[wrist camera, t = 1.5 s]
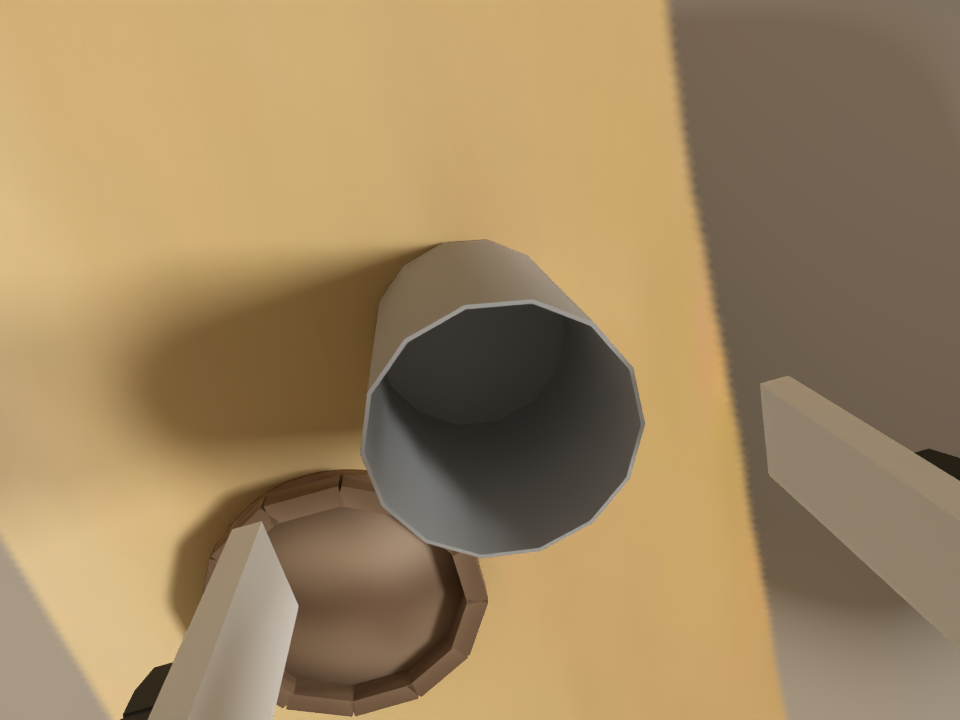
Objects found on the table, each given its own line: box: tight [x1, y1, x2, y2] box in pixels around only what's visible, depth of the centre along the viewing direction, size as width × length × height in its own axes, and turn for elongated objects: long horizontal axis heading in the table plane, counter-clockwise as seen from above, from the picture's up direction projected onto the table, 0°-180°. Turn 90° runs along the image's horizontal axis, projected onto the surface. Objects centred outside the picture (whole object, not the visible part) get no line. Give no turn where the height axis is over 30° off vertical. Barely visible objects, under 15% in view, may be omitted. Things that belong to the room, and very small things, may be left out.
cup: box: [360, 239, 645, 558], centre depth 23 cm, size 8×8×10 cm
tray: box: [203, 470, 488, 717], centre depth 31 cm, size 13×13×2 cm
